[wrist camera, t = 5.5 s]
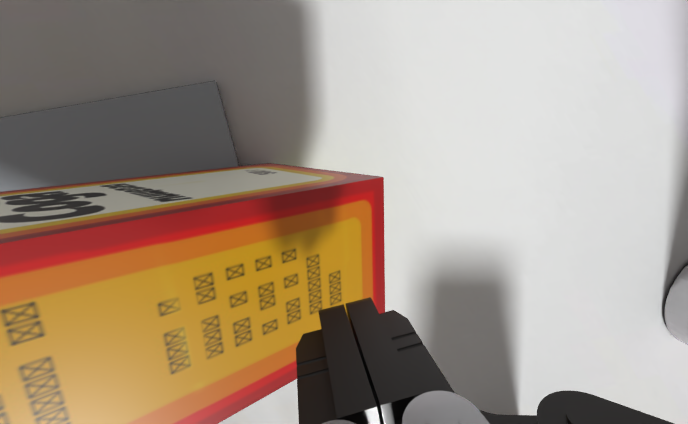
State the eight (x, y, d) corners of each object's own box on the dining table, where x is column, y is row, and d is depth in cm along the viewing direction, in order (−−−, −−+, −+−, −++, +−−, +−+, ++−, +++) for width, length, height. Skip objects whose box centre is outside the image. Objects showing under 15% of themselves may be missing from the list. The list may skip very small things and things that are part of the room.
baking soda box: (278, 264, 21) (-125, 391, 12) (269, 163, 20) (-208, 213, 10) (385, 328, 14) (-435, 792, 5) (383, 177, 13) (-893, 398, 3)
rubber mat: (216, 82, 18) (214, 80, 18) (289, 352, 23) (289, 357, 23) (-108, 137, 17) (-120, 138, 16) (45, 417, 21) (40, 424, 21)
